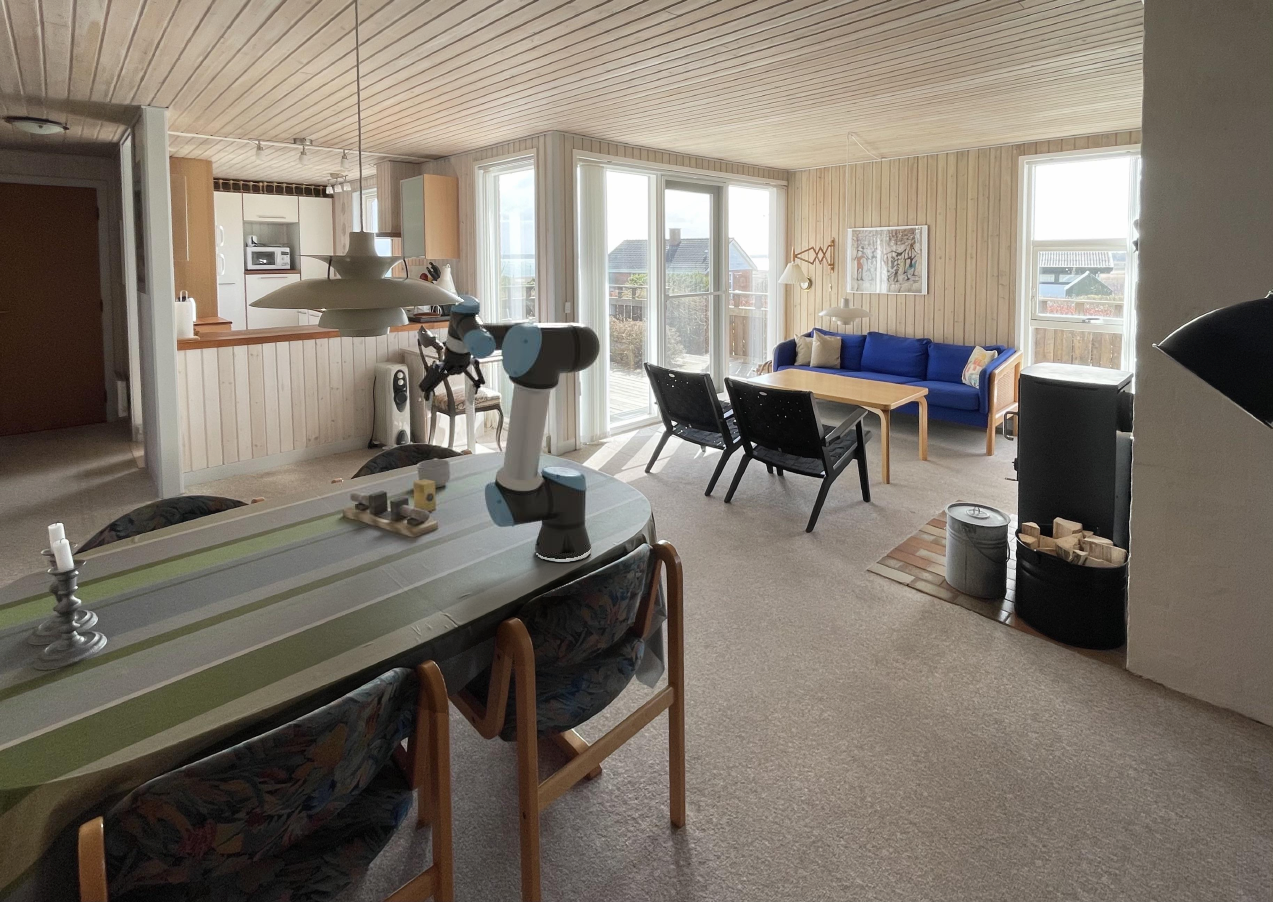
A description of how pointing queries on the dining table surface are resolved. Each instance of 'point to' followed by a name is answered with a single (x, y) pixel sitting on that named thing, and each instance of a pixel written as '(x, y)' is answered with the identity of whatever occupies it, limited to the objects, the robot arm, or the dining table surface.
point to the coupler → (424, 495)
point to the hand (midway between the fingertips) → (449, 405)
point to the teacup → (434, 471)
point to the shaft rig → (390, 514)
